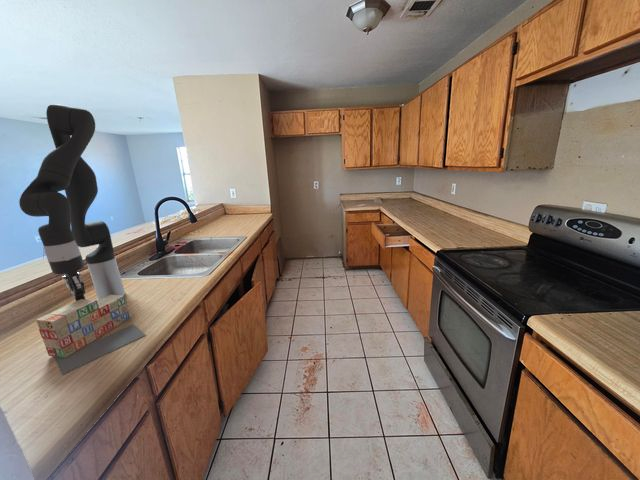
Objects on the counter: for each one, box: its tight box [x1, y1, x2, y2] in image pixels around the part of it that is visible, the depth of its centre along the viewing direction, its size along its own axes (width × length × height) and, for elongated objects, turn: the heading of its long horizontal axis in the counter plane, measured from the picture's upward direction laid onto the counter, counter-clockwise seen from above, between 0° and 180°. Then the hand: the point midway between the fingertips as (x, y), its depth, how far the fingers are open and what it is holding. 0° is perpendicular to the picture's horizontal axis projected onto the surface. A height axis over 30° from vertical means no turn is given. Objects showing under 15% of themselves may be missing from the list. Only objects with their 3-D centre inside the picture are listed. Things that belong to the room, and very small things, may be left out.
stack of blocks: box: [35, 295, 131, 358], centre depth 84 cm, size 21×6×12 cm, turn 168°
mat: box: [54, 324, 147, 376], centre depth 80 cm, size 11×20×1 cm, turn 143°
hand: (82, 304), depth 86 cm, fingers closed
